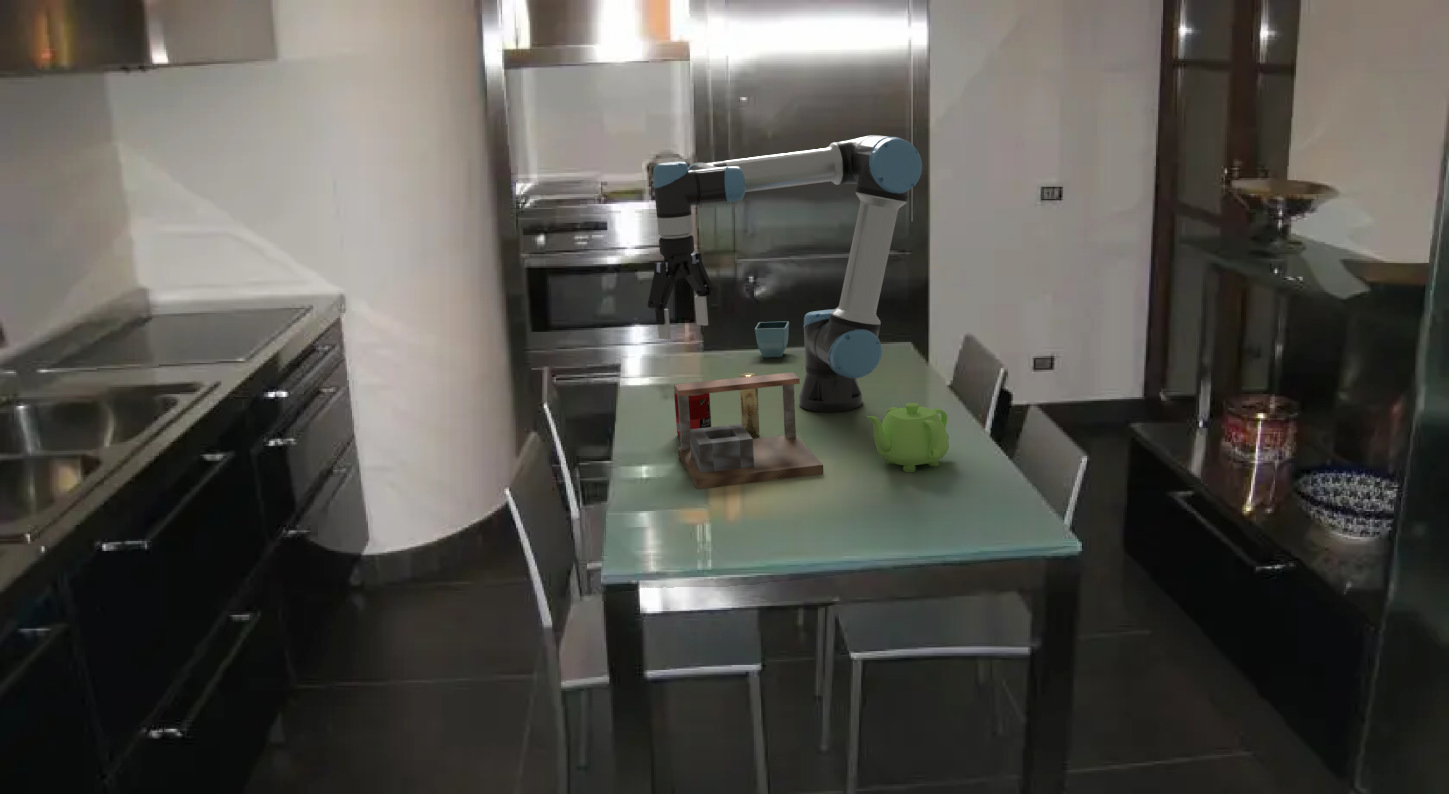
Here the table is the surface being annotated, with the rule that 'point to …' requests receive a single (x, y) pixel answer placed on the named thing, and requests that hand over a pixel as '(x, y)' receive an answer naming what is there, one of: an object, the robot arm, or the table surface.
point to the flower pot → (772, 338)
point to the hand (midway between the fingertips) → (684, 331)
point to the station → (742, 440)
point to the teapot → (911, 436)
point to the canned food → (696, 411)
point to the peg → (750, 408)
